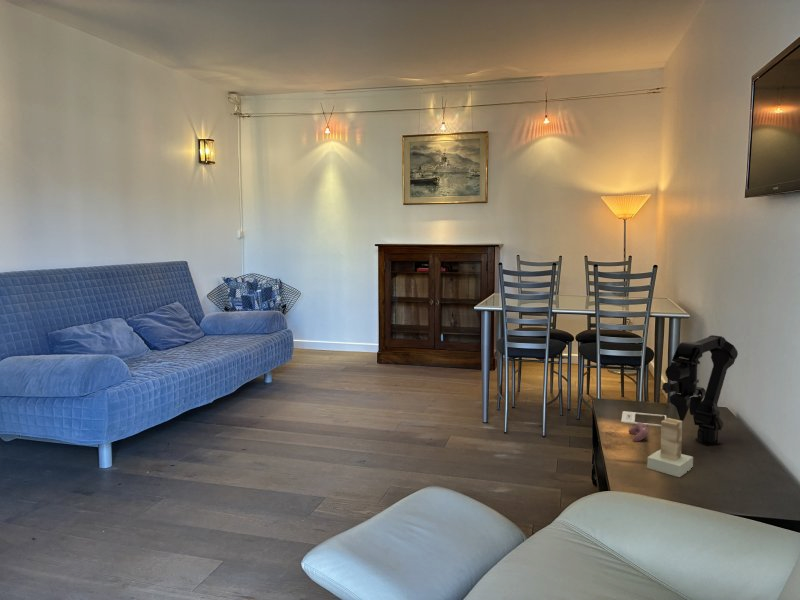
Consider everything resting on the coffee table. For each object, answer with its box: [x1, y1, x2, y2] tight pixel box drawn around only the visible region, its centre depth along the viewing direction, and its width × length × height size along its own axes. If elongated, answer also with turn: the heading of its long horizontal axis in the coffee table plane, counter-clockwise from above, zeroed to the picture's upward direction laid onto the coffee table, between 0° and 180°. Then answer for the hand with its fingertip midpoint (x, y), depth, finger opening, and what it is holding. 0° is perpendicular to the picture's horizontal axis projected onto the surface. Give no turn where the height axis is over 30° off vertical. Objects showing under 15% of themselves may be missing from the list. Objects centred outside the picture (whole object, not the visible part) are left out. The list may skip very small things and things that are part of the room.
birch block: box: [660, 417, 683, 461], centre depth 199 cm, size 5×5×13 cm
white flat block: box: [646, 448, 694, 478], centre depth 200 cm, size 11×11×4 cm
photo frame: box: [620, 410, 667, 427], centre depth 250 cm, size 15×1×18 cm
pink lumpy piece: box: [628, 421, 649, 442], centre depth 229 cm, size 10×5×7 cm, turn 169°
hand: (686, 417), depth 212 cm, fingers open, 9 cm apart
